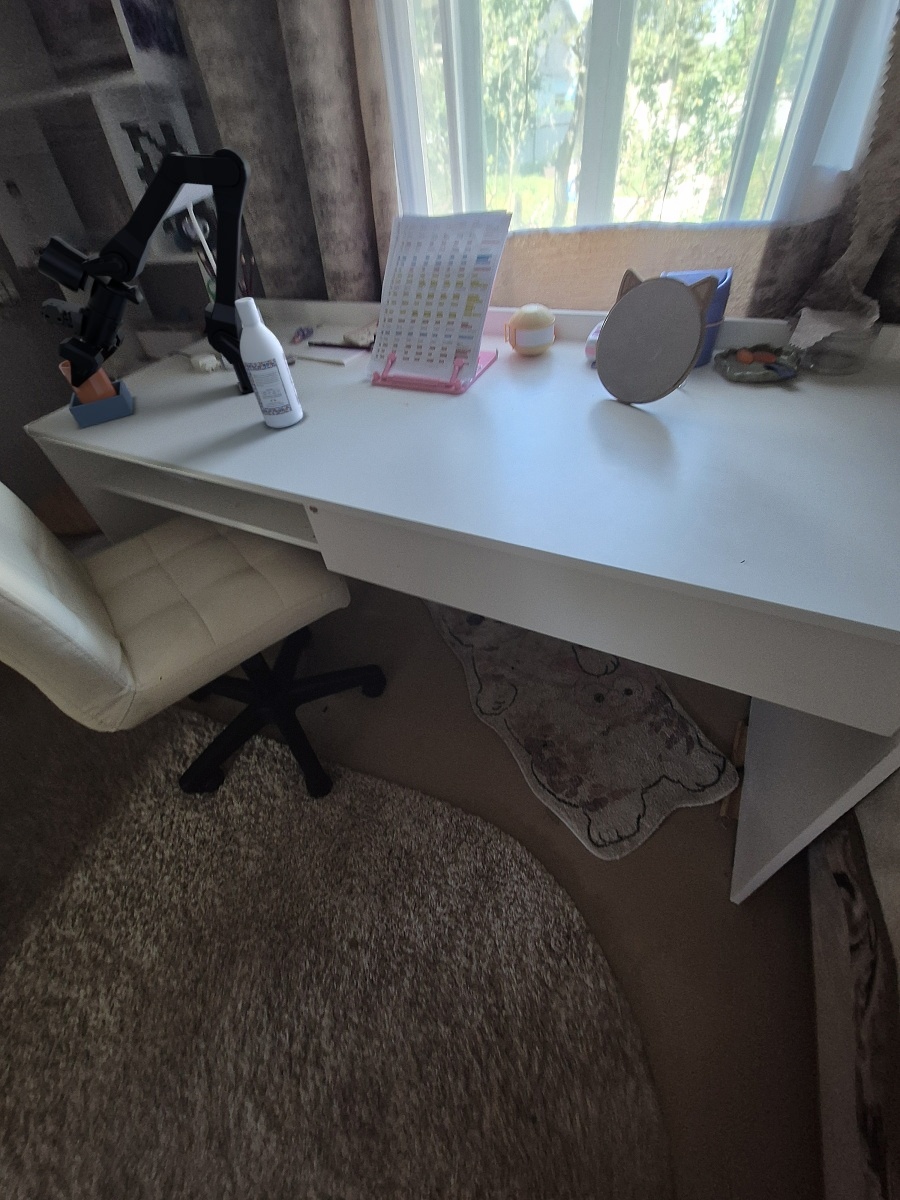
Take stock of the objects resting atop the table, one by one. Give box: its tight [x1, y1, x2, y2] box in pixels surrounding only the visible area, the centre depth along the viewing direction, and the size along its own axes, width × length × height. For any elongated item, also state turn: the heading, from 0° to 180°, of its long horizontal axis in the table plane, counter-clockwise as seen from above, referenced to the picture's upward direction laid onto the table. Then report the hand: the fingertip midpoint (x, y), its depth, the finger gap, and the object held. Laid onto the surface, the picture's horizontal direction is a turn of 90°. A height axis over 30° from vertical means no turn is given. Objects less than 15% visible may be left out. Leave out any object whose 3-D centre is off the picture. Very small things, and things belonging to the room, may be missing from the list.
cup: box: [58, 359, 118, 405], centre depth 106 cm, size 7×7×10 cm
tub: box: [68, 379, 134, 429], centre depth 108 cm, size 10×10×4 cm
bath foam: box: [235, 296, 304, 429], centre depth 90 cm, size 7×7×20 cm
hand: (80, 379), depth 105 cm, fingers closed on cup, 7 cm apart
